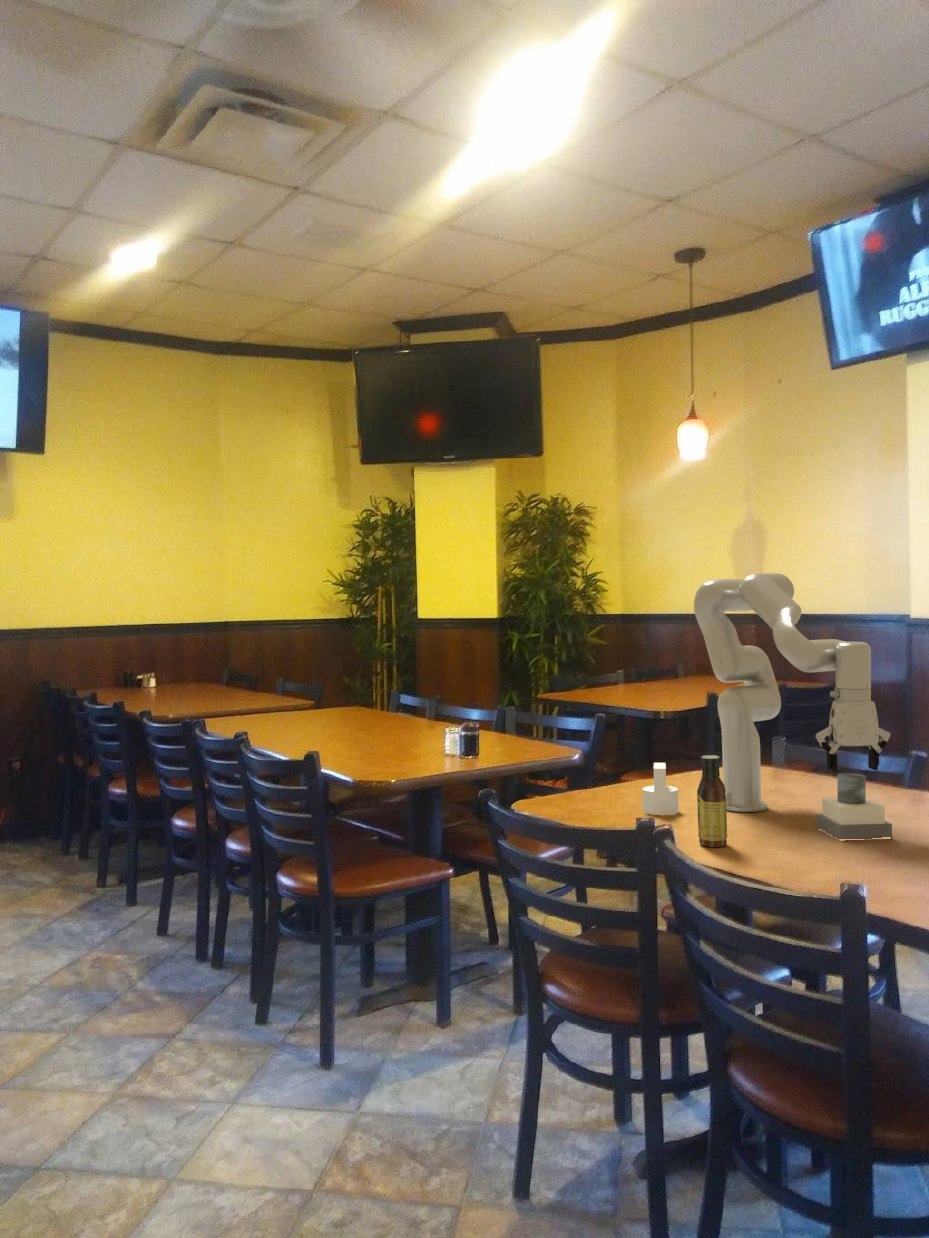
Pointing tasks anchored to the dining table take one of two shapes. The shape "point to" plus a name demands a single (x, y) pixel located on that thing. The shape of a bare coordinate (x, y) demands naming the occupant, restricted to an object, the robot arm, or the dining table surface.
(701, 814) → the sauce bottle
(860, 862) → the dining table surface
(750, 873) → the dining table surface
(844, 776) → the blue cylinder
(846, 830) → the tower bottom
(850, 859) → the dining table surface
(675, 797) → the cylinder with rectangular tab
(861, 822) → the tower top
